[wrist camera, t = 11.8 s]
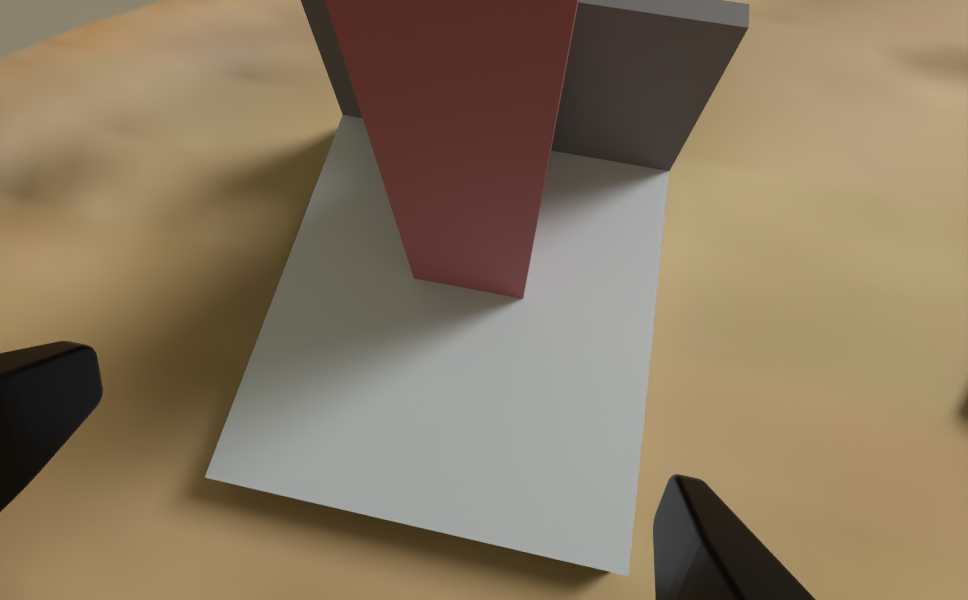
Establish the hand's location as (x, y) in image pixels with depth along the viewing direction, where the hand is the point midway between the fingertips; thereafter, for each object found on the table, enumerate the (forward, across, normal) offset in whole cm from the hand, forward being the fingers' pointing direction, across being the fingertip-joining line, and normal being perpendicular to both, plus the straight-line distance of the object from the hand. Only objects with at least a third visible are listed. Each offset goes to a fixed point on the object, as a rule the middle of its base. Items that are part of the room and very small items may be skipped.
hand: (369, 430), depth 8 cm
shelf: (+10, 0, +3) cm, 11 cm away
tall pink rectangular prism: (+11, 0, 0) cm, 11 cm away
